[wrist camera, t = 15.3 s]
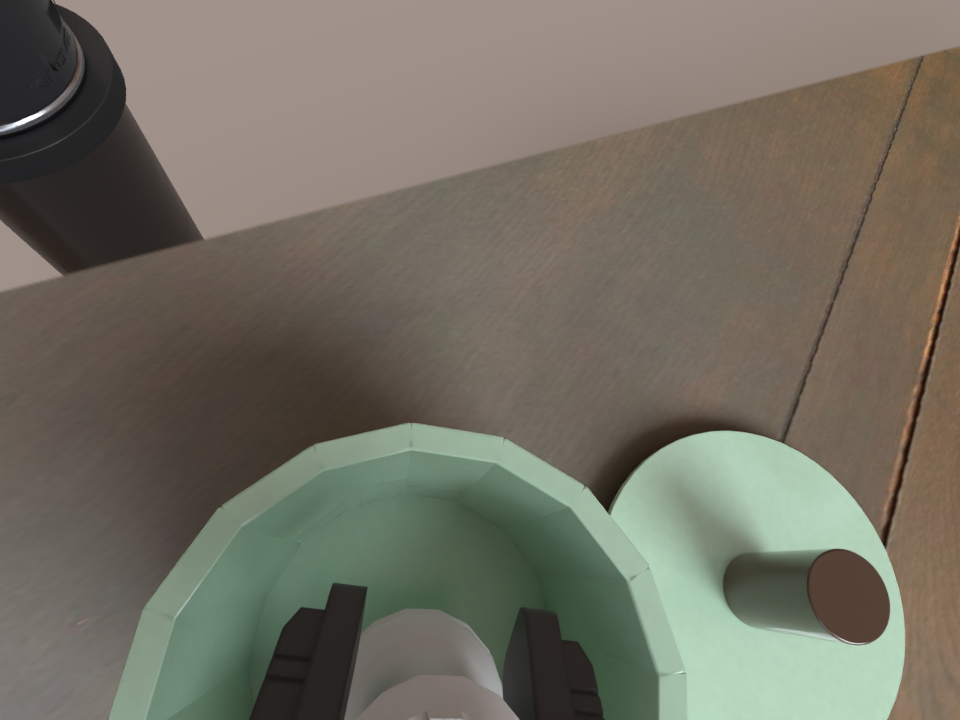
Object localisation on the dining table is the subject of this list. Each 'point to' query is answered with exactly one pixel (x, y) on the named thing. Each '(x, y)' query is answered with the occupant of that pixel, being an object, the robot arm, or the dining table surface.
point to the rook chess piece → (424, 671)
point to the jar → (402, 571)
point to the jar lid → (766, 580)
